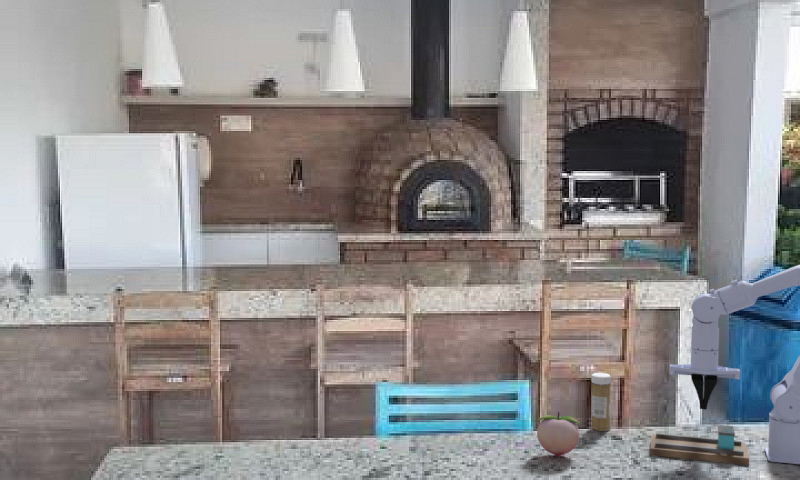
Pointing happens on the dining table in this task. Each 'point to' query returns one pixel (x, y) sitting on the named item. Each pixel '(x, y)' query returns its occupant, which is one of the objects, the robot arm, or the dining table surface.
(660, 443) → the fader console
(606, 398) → the sprinkles bottle
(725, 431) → the fader tab
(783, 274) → the robot arm
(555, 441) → the decorative fruit
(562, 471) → the dining table surface
